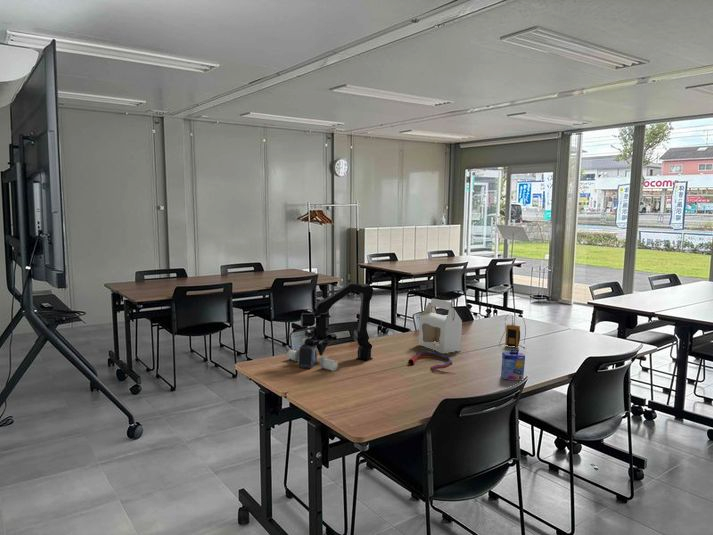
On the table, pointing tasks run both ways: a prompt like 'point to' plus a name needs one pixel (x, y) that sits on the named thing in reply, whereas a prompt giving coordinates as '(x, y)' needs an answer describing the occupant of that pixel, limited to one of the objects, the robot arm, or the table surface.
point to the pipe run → (324, 362)
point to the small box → (307, 356)
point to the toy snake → (433, 355)
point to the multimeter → (513, 334)
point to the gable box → (440, 327)
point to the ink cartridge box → (512, 365)
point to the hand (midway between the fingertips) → (320, 355)
